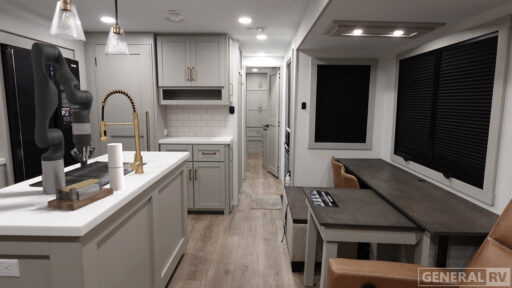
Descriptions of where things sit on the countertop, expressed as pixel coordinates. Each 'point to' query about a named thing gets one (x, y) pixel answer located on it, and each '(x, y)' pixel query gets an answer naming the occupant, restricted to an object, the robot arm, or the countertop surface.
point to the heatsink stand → (79, 196)
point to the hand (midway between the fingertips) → (84, 168)
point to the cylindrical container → (115, 166)
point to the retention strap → (79, 185)
